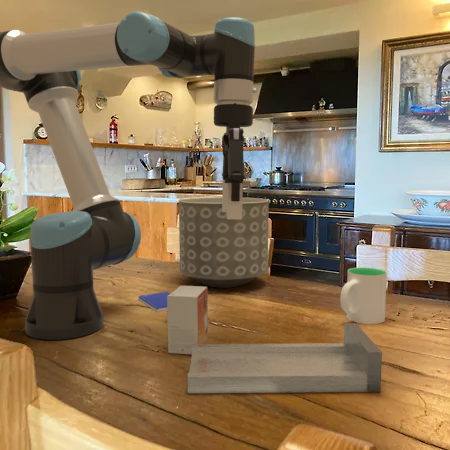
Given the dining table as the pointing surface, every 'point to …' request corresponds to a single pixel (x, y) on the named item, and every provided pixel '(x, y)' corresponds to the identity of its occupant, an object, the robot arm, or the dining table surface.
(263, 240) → the planter
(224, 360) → the tray
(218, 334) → the dining table surface
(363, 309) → the mug
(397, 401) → the dining table surface
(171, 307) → the small box
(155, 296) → the hard drive
